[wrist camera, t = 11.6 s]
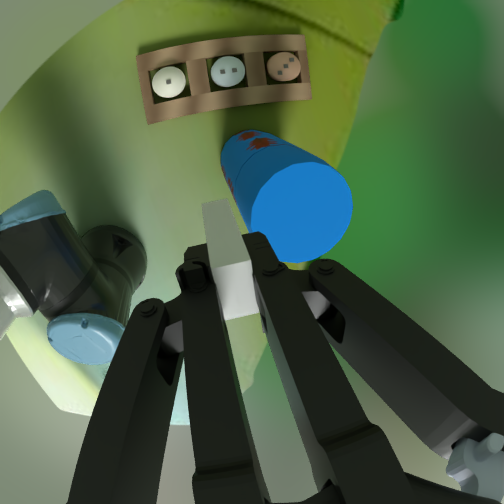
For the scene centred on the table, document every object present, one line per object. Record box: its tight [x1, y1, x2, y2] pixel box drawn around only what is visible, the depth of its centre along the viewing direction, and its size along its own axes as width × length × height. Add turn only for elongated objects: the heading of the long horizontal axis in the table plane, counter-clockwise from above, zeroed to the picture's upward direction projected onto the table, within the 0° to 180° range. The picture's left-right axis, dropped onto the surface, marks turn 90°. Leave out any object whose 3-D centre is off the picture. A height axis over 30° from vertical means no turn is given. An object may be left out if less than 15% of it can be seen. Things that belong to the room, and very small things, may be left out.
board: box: [136, 35, 312, 125], centre depth 37 cm, size 27×12×2 cm, turn 97°
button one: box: [152, 67, 186, 98], centre depth 35 cm, size 5×5×3 cm
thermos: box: [221, 130, 353, 263], centre depth 36 cm, size 11×11×25 cm
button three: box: [265, 52, 301, 81], centre depth 37 cm, size 5×5×3 cm
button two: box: [210, 56, 245, 87], centre depth 36 cm, size 5×5×3 cm
